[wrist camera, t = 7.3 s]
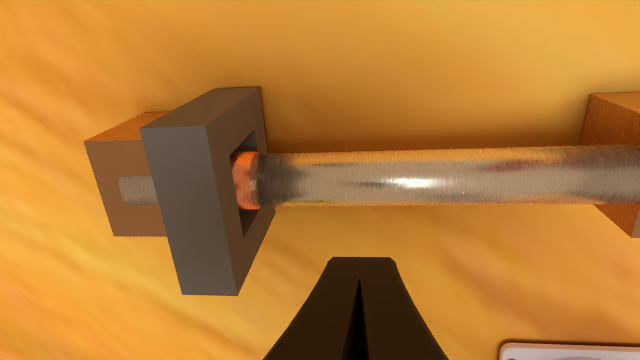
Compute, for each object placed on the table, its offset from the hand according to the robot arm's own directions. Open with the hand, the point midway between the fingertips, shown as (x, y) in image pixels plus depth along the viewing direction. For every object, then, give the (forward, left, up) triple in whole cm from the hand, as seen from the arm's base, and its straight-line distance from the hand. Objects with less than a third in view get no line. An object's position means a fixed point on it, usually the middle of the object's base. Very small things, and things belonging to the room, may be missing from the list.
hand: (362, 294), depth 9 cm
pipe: (0, -1, -10) cm, 10 cm away
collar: (0, +5, -10) cm, 11 cm away
